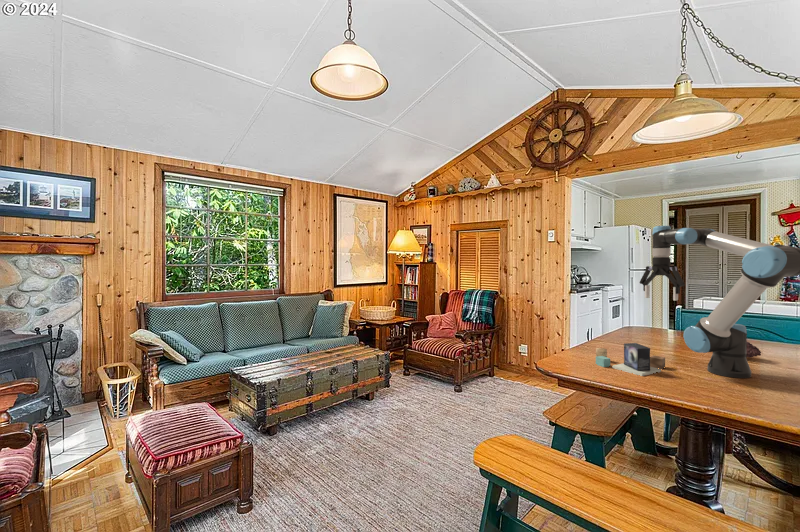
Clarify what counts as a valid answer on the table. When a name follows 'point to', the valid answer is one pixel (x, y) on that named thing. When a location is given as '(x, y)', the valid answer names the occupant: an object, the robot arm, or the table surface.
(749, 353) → the pine cone
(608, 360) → the teal block
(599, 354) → the oak cylinder
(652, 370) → the tile
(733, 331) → the robot arm
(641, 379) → the table surface
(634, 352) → the small box
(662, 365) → the walnut block
